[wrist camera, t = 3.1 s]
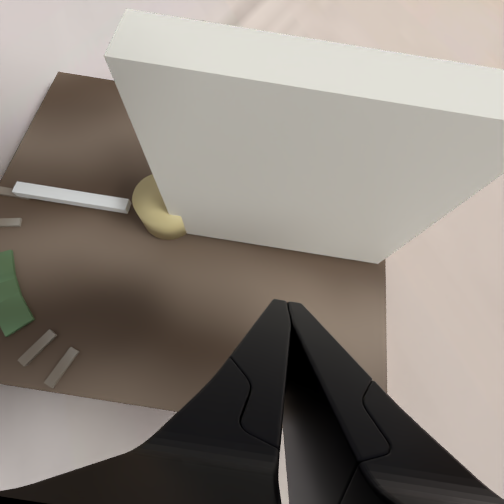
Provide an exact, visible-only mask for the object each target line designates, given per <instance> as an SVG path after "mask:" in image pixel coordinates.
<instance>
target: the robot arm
mask: <svg viewBox="0 0 504 504" xmlns="http://www.w3.org/2000/svg"><path fill="white" fill-rule="evenodd" d="M372 380H373V379H372V378H371V377H370V376H369V374H368V373H367V372H366V371H365V370H364V369H363V368H362V367H361V366H360V365H359V364H358V363H357V362H356V361H355V360H354V359H353V357H352V356H351V355H350V354H349V353H348V352H347V351H346V350H345V349H344V348H343V347H342V346H341V345H340V344H339V343H338V342H337V340H336V339H335V338H334V337H333V336H332V335H331V334H330V333H329V332H328V331H327V330H326V329H325V328H324V327H323V326H322V325H321V323H320V322H319V321H318V320H317V319H316V318H315V317H314V316H313V315H312V314H311V313H310V312H309V311H308V310H307V309H306V308H305V306H304V305H303V304H301V303H297V302H291V301H289V302H286V301H285V300H278V299H273V300H272V301H271V302H270V304H269V305H268V306H267V308H266V309H265V310H264V312H263V313H262V314H261V315H260V317H259V318H258V319H257V321H256V322H255V323H254V325H253V326H252V327H251V329H250V330H249V331H248V333H247V334H246V335H245V337H244V338H243V339H242V340H241V342H240V343H239V344H238V346H237V347H236V348H235V350H234V351H233V352H232V354H231V355H230V356H229V358H228V359H227V360H226V361H225V363H224V364H223V365H222V366H221V368H220V369H219V370H218V371H217V373H216V374H215V375H214V376H213V377H212V379H211V380H210V381H209V382H208V383H207V384H206V385H205V386H204V387H203V388H202V389H201V390H200V391H199V392H198V393H197V394H196V395H195V396H194V397H193V398H192V399H191V400H190V401H189V402H188V403H187V404H186V405H185V406H184V407H182V408H181V409H180V410H179V411H178V412H177V413H176V414H175V415H174V416H173V417H172V418H171V419H170V420H169V421H168V422H167V423H166V424H165V425H164V426H163V427H162V428H161V429H159V430H158V431H157V432H156V433H155V434H154V435H153V436H152V437H151V438H149V439H148V440H147V441H146V442H144V443H143V444H141V445H140V446H138V447H137V448H135V449H133V450H132V451H130V452H127V453H125V454H122V455H119V456H116V457H113V458H110V459H107V460H104V461H101V462H98V463H95V464H91V465H88V466H85V467H82V468H79V469H76V470H73V471H70V472H67V473H64V474H61V475H58V476H55V477H52V478H49V479H46V480H43V481H40V482H37V483H34V484H30V485H27V486H23V487H19V488H15V489H9V490H4V491H0V504H281V497H280V490H279V481H278V469H279V452H280V445H281V434H282V423H283V434H284V446H285V458H286V470H287V482H288V494H289V504H504V499H502V498H501V497H499V496H498V495H497V494H495V493H494V492H493V491H491V490H490V489H489V488H488V487H487V486H485V485H484V484H483V483H482V482H481V481H480V480H478V479H477V478H476V477H475V476H474V475H473V474H472V473H471V472H470V471H469V470H467V469H466V468H465V467H464V466H463V465H462V464H461V463H460V462H459V461H458V460H456V459H455V458H454V457H453V456H452V455H451V454H450V453H449V452H448V451H447V450H446V449H444V448H443V447H442V446H441V445H440V444H439V443H438V442H437V441H436V440H435V439H433V438H432V437H431V436H430V435H429V434H428V433H427V432H426V431H425V430H424V429H423V428H421V427H420V426H419V425H418V424H417V423H416V422H415V421H414V420H413V419H412V418H411V417H410V416H409V415H408V414H407V413H406V412H405V411H403V410H402V409H401V408H400V407H399V406H398V405H397V404H396V403H395V402H394V400H393V399H392V398H391V397H390V396H389V395H388V394H387V393H386V392H385V391H384V390H383V389H382V388H381V387H380V386H379V385H378V384H377V383H376V382H375V381H372Z"/></svg>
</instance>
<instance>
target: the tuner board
mask: <svg viewBox="0 0 504 504" xmlns="http://www.w3.org/2000/svg"><path fill="white" fill-rule="evenodd" d="M151 174H152V172H151V169H150V167H149V164H148V162H147V159H146V157H145V155H144V152H143V150H142V147H141V145H140V142H139V140H138V137H137V135H136V133H135V130H134V128H133V125H132V123H131V120H130V118H129V116H128V113H127V111H126V108H125V106H124V103H123V101H122V99H121V96H120V94H119V91H118V89H117V86H116V84H115V81H113V80H106V79H100V78H94V77H88V76H81V75H75V74H69V73H63V72H58V73H57V75H56V77H55V79H54V81H53V83H52V85H51V87H50V89H49V90H48V92H47V94H46V96H45V98H44V100H43V102H42V104H41V106H40V107H39V109H38V111H37V113H36V115H35V117H34V119H33V121H32V123H31V124H30V126H29V128H28V130H27V132H26V134H25V136H24V138H23V140H22V142H21V143H20V145H19V147H18V149H17V151H16V153H15V155H14V157H13V159H12V160H11V162H10V164H9V166H8V168H7V170H6V172H5V174H4V176H3V177H2V179H1V181H0V384H4V385H10V386H17V387H23V388H29V389H36V390H42V391H48V392H55V393H61V394H67V395H74V396H80V397H87V398H93V399H99V400H106V401H112V402H118V403H125V404H131V405H137V406H144V407H150V408H156V409H163V410H169V411H176V412H178V411H179V410H180V409H181V408H182V407H184V406H185V405H186V404H187V403H188V402H189V401H190V400H191V399H192V398H193V397H194V396H195V395H196V394H197V393H198V392H199V391H200V390H201V389H202V388H203V387H204V386H205V385H206V384H207V383H208V382H209V381H210V380H211V379H212V377H213V376H214V375H215V374H216V373H217V371H218V370H219V369H220V368H221V366H222V365H223V364H224V363H225V361H226V360H227V359H228V358H229V356H230V355H231V354H232V352H233V351H234V350H235V348H236V347H237V346H238V344H239V343H240V342H241V340H242V339H243V338H244V337H245V335H246V334H247V333H248V331H249V330H250V329H251V327H252V326H253V325H254V323H255V322H256V321H257V319H258V318H259V317H260V315H261V314H262V313H263V312H264V310H265V309H266V308H267V306H268V305H269V304H270V302H271V301H272V300H273V299H278V300H285V301H286V302H289V301H291V302H297V303H301V304H303V305H304V306H305V308H306V309H307V310H308V311H309V312H310V313H311V314H312V315H313V316H314V317H315V318H316V319H317V320H318V321H319V322H320V323H321V325H322V326H323V327H324V328H325V329H326V330H327V331H328V332H329V333H330V334H331V335H332V336H333V337H334V338H335V339H336V340H337V342H338V343H339V344H340V345H341V346H342V347H343V348H344V349H345V350H346V351H347V352H348V353H349V354H350V355H351V356H352V357H353V359H354V360H355V361H356V362H357V363H358V364H359V365H360V366H361V367H362V368H363V369H364V370H365V371H366V372H367V373H368V374H369V376H370V377H371V378H372V379H373V380H372V381H375V382H376V383H377V384H378V385H379V386H380V387H381V388H382V389H383V390H384V391H385V392H386V393H387V351H386V275H385V259H384V260H383V261H381V262H380V263H379V264H376V263H369V262H363V261H357V260H350V259H344V258H338V257H332V256H325V255H319V254H313V253H306V252H300V251H294V250H288V249H281V248H275V247H269V246H262V245H256V244H250V243H244V242H237V241H231V240H225V239H218V238H212V237H206V236H200V235H193V234H185V235H184V236H182V237H180V238H177V239H172V240H164V239H160V238H157V237H155V236H153V235H152V234H151V233H149V231H148V230H147V229H146V227H145V226H144V224H143V222H142V221H141V219H140V217H139V216H138V214H137V213H136V211H135V209H134V207H133V203H132V195H133V192H134V189H135V188H136V186H137V185H138V183H139V182H140V181H141V180H143V179H144V178H145V177H147V176H149V175H151ZM17 181H18V182H25V183H31V184H37V185H44V186H50V187H56V188H62V189H69V190H75V191H81V192H88V193H94V194H100V195H106V196H113V197H119V198H125V199H129V200H130V202H131V206H130V209H129V212H128V214H126V213H120V212H113V211H107V210H101V209H95V208H88V207H82V206H76V205H69V204H63V203H57V202H51V201H44V200H38V199H32V198H26V197H19V196H16V195H15V194H14V193H13V192H12V190H13V188H14V186H15V184H16V182H17ZM282 428H283V423H282Z"/></svg>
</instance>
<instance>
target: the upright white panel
mask: <svg viewBox="0 0 504 504" xmlns="http://www.w3.org/2000/svg"><path fill="white" fill-rule="evenodd" d="M104 57H105V60H106V62H107V64H108V67H109V69H110V72H111V74H112V77H113V79H114V81H115V84H116V86H117V89H118V91H119V94H120V96H121V99H122V101H123V103H124V106H125V108H126V111H127V113H128V116H129V118H130V120H131V123H132V125H133V128H134V130H135V133H136V135H137V137H138V140H139V142H140V145H141V147H142V150H143V152H144V155H145V157H146V159H147V162H148V164H149V167H150V169H151V172H152V174H151V175H149V176H147V177H145V178H144V179H143V180H141V181H140V182H139V183H138V185H137V186H136V188H135V189H134V192H133V195H132V203H133V207H134V209H135V211H136V213H137V214H138V216H139V217H140V219H141V221H142V222H143V224H144V226H145V227H146V229H147V230H148V231H149V233H151V234H152V235H153V236H155V237H157V238H160V239H164V240H172V239H177V238H180V237H182V236H184V235H185V234H193V235H200V236H206V237H212V238H218V239H225V240H231V241H237V242H244V243H250V244H256V245H262V246H269V247H275V248H281V249H288V250H294V251H300V252H306V253H313V254H319V255H325V256H332V257H338V258H344V259H350V260H357V261H363V262H369V263H376V264H379V263H380V262H381V261H383V260H384V259H386V258H387V257H388V256H390V255H391V254H393V253H394V252H395V251H397V250H398V249H399V248H401V247H402V246H404V245H405V244H406V243H408V242H409V241H411V240H412V239H413V238H415V237H416V236H417V235H419V234H420V233H422V232H423V231H424V230H426V229H427V228H429V227H430V226H431V225H433V224H434V223H435V222H437V221H438V220H440V219H441V218H442V217H444V216H445V215H447V214H448V213H449V212H451V211H452V210H453V209H455V208H456V207H458V206H459V205H460V204H462V203H463V202H465V201H466V200H467V199H469V198H470V197H472V196H473V195H474V194H476V193H477V192H478V191H480V190H481V189H483V188H484V187H485V186H487V185H488V184H490V183H491V182H492V181H494V180H495V179H496V178H498V177H499V176H501V175H502V174H503V173H504V69H498V68H492V67H486V66H479V65H473V64H467V63H461V62H455V61H448V60H442V59H436V58H430V57H423V56H417V55H411V54H405V53H399V52H392V51H386V50H380V49H374V48H368V47H361V46H355V45H349V44H343V43H337V42H330V41H324V40H318V39H312V38H306V37H299V36H293V35H287V34H281V33H275V32H268V31H262V30H256V29H250V28H243V27H237V26H231V25H225V24H219V23H212V22H206V21H200V20H194V19H188V18H181V17H175V16H169V15H163V14H157V13H150V12H144V11H138V10H132V9H126V10H125V12H124V14H123V16H122V18H121V20H120V23H119V25H118V27H117V29H116V31H115V33H114V35H113V38H112V40H111V42H110V44H109V46H108V48H107V51H106V53H105V55H104ZM12 192H13V193H14V194H15V195H16V196H19V197H26V198H32V199H38V200H44V201H51V202H57V203H63V204H69V205H76V206H82V207H88V208H95V209H101V210H107V211H113V212H120V213H126V214H128V212H129V209H130V206H131V202H130V200H129V199H125V198H119V197H113V196H106V195H100V194H94V193H88V192H81V191H75V190H69V189H62V188H56V187H50V186H44V185H37V184H31V183H25V182H18V181H17V182H16V184H15V186H14V188H13V190H12Z"/></svg>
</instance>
